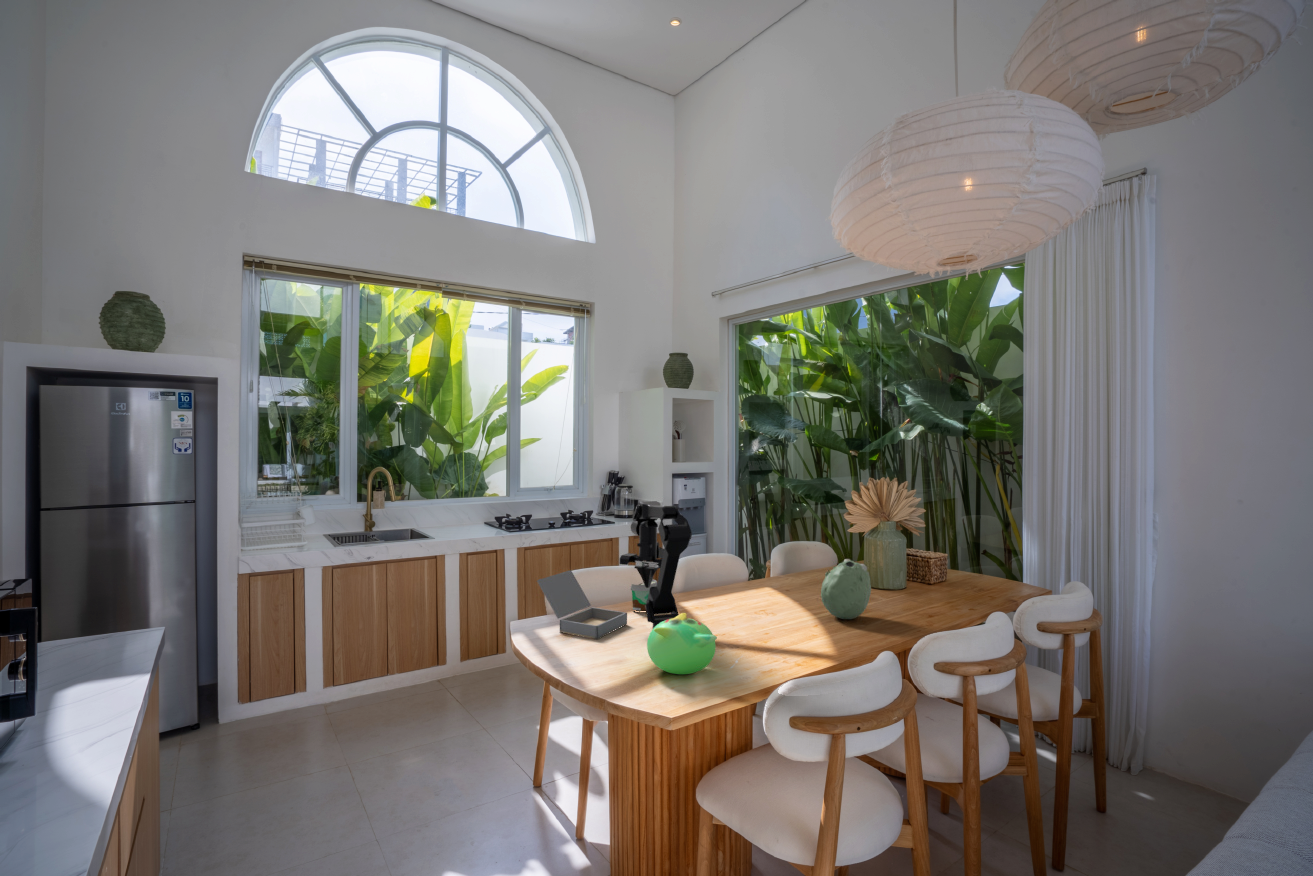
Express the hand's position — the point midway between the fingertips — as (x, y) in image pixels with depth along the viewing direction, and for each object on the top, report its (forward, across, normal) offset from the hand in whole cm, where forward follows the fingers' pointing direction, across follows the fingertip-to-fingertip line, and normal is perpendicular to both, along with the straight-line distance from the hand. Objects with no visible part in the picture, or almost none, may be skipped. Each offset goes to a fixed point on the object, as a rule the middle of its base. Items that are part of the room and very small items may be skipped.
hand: (647, 587), depth 207 cm
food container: (+13, +10, -18) cm, 25 cm away
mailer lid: (+3, +26, +10) cm, 28 cm away
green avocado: (+13, -54, -44) cm, 71 cm away
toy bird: (+13, -27, +31) cm, 43 cm away
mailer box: (+13, +14, +10) cm, 22 cm away
